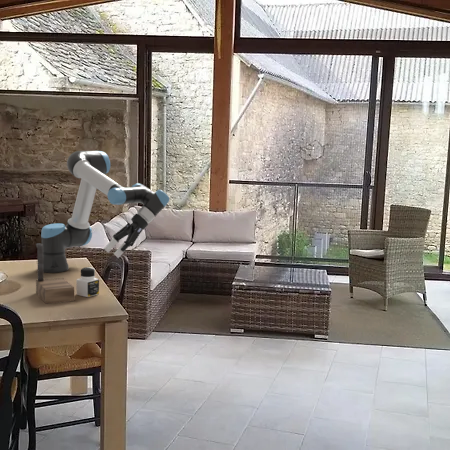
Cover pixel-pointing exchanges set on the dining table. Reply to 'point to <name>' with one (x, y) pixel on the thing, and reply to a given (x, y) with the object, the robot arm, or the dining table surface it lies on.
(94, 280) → the medicine bottle
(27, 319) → the dining table surface
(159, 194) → the robot arm
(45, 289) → the wooden stand
